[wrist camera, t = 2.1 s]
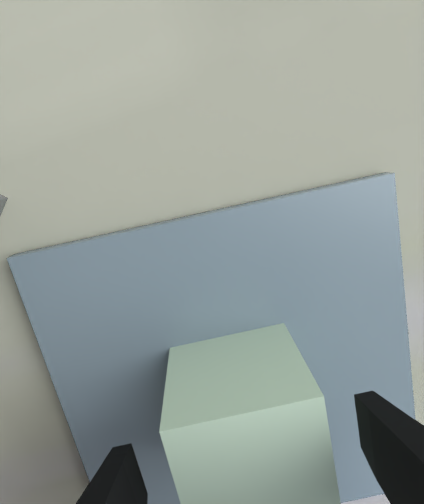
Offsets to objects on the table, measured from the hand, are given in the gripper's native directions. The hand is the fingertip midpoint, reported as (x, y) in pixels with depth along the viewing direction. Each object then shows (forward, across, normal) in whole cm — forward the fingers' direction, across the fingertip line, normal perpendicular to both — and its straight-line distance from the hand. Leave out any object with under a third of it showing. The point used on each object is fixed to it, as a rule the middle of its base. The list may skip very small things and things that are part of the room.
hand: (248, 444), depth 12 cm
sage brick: (+3, 0, 0) cm, 3 cm away
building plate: (+4, 0, 0) cm, 4 cm away
